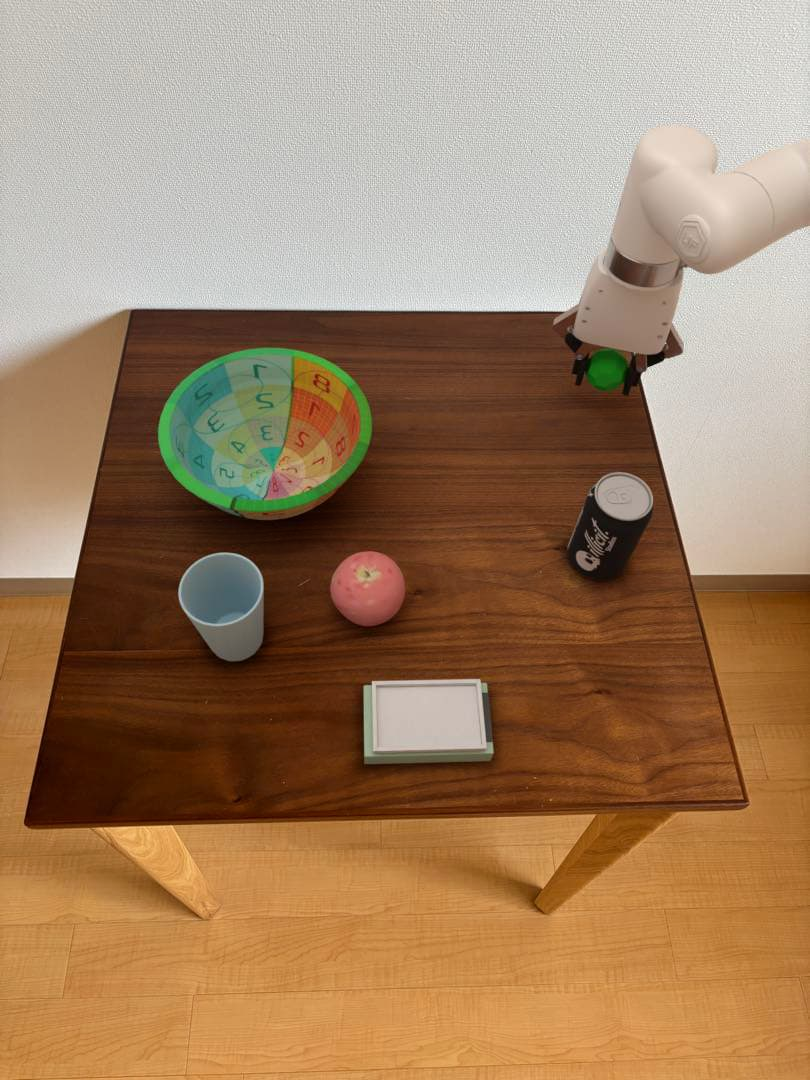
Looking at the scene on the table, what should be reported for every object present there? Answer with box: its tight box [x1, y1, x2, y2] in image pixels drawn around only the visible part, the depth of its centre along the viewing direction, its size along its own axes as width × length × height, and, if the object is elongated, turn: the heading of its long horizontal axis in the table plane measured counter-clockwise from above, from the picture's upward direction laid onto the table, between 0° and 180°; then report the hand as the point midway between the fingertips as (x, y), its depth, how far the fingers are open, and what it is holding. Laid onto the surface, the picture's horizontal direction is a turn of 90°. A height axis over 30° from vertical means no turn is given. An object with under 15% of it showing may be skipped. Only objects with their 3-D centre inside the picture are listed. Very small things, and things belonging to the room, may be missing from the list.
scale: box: [363, 678, 495, 765], centre depth 77 cm, size 12×7×4 cm, turn 92°
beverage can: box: [566, 471, 654, 582], centre depth 85 cm, size 7×7×12 cm
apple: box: [329, 550, 406, 627], centre depth 82 cm, size 7×7×8 cm
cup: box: [178, 552, 265, 662], centre depth 79 cm, size 8×8×10 cm
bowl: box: [157, 347, 373, 521], centre depth 90 cm, size 22×22×10 cm
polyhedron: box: [584, 348, 629, 392], centre depth 96 cm, size 5×5×5 cm
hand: (602, 381), depth 98 cm, fingers closed on polyhedron, 5 cm apart
